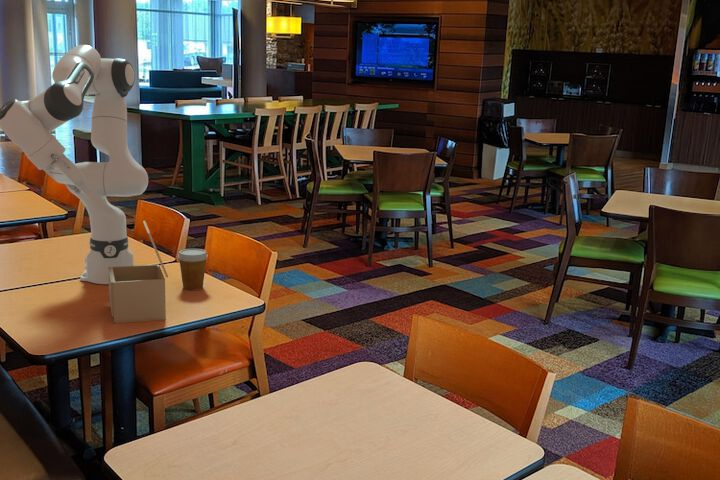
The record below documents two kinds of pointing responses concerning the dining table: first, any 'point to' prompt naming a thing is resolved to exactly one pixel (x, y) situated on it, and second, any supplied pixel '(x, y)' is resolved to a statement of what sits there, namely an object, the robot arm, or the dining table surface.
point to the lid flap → (155, 249)
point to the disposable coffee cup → (192, 267)
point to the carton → (137, 293)
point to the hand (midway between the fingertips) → (84, 193)
